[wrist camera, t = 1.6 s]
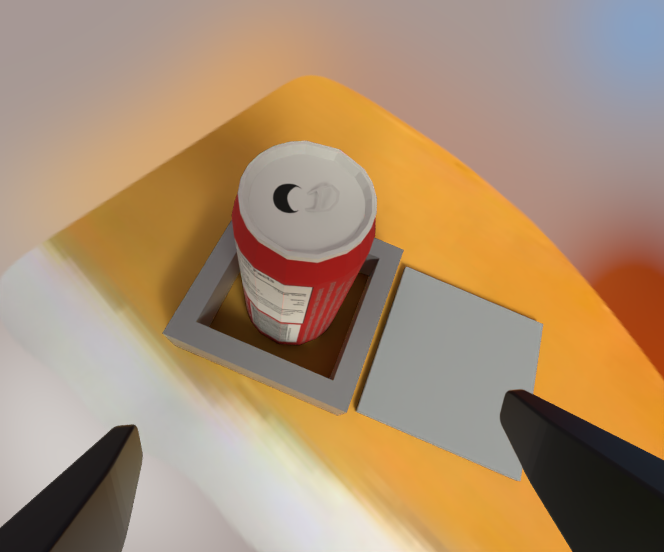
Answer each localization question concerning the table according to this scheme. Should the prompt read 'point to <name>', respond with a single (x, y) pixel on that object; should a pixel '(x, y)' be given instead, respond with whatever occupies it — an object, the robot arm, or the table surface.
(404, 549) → the table surface
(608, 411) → the table surface
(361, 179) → the soda can
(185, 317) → the collar
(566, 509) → the robot arm
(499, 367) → the mat
